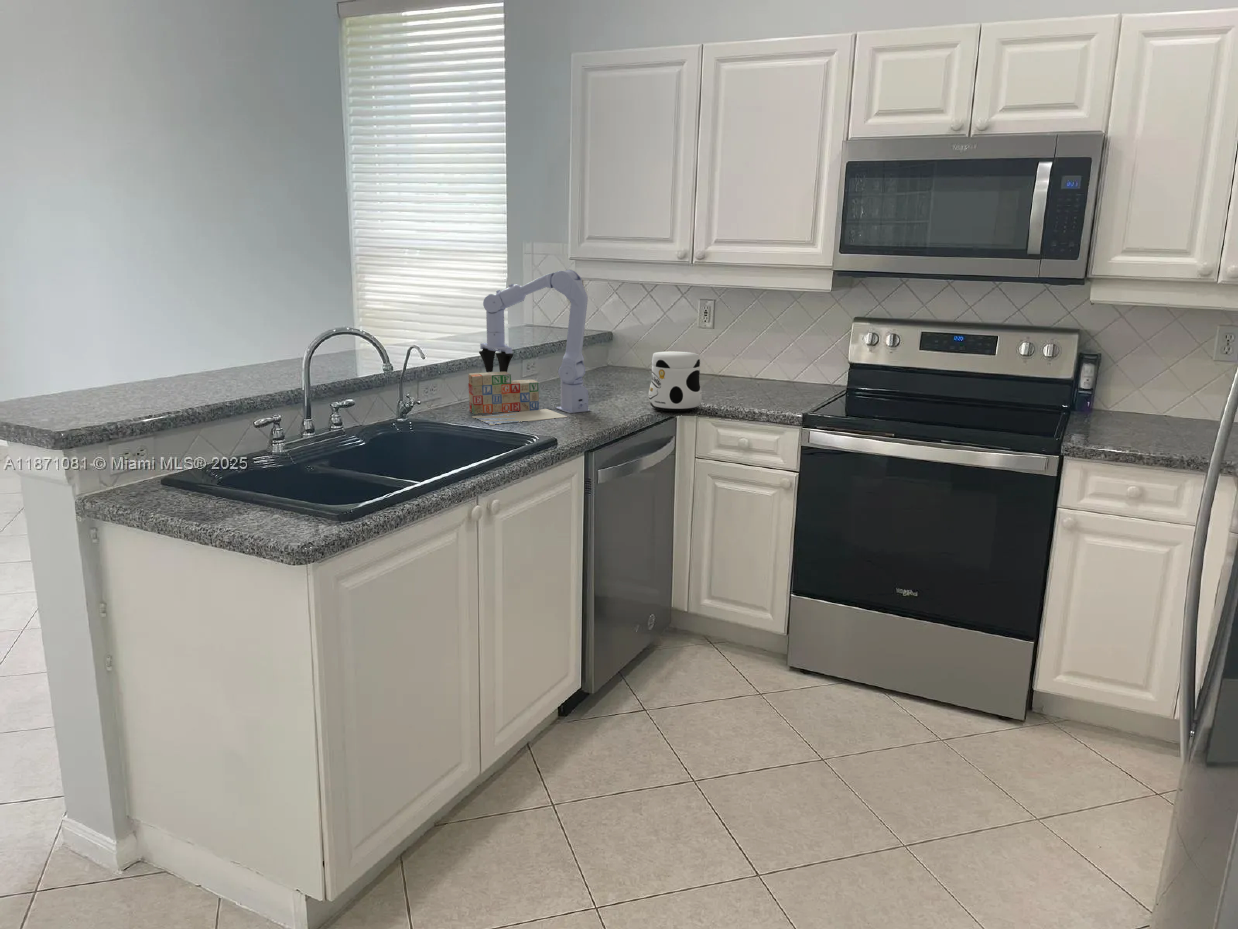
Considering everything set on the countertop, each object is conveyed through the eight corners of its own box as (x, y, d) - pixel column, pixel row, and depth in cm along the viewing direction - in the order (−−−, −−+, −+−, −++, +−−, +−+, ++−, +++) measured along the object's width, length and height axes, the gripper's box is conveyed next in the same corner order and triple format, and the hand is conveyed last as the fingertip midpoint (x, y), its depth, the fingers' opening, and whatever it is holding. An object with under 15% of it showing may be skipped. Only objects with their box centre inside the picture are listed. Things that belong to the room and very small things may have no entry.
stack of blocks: (533, 407, 295) (533, 369, 292) (539, 410, 290) (538, 372, 286) (469, 411, 288) (467, 372, 285) (473, 414, 282) (472, 375, 279)
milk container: (637, 408, 294) (638, 353, 290) (672, 402, 306) (674, 349, 302) (676, 416, 282) (678, 359, 278) (712, 409, 294) (714, 354, 290)
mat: (567, 417, 279) (567, 416, 279) (490, 425, 266) (490, 424, 266) (546, 409, 291) (546, 408, 291) (471, 417, 278) (471, 416, 278)
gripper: (519, 332, 290) (519, 374, 293) (492, 328, 300) (493, 369, 303) (501, 334, 285) (502, 376, 288) (474, 330, 295) (475, 371, 298)
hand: (496, 373), depth 295 cm, fingers open, 7 cm apart
